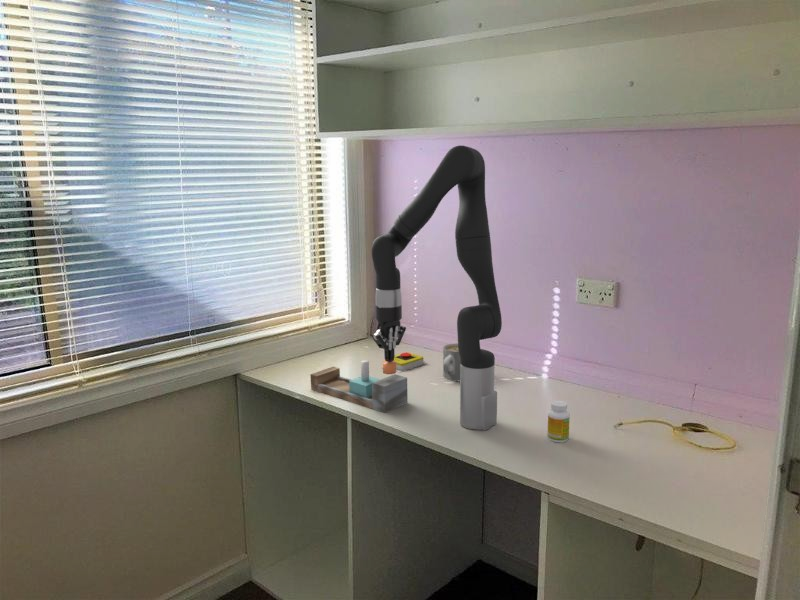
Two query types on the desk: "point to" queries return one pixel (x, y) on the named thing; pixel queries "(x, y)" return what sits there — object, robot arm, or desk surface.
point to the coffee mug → (451, 362)
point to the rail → (383, 397)
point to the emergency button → (407, 361)
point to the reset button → (389, 367)
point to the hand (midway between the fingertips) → (389, 361)
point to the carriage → (363, 382)
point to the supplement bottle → (558, 422)
